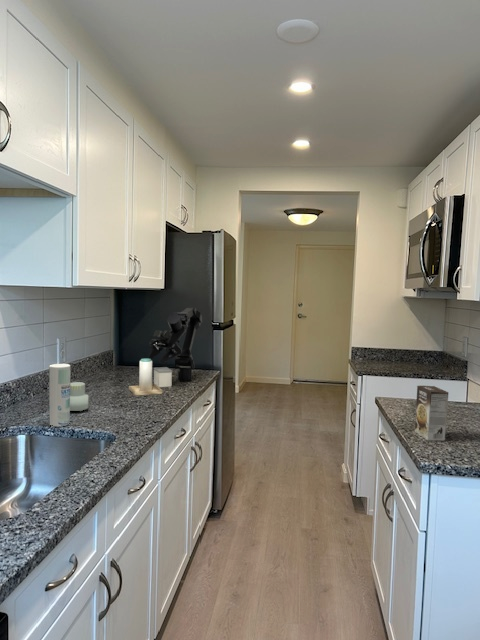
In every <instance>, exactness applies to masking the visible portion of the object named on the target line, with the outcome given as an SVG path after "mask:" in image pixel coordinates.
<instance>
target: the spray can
mask: <svg viewBox="0 0 480 640" xmlns="http://www.w3.org/2000/svg"><path fill="white" fill-rule="evenodd" d="M48 371H49V372H48V375H49V376H48V379H49V381H48V385H49V388H48V389H49V390H48V393H49V398H48V399H49V400H48V401H49V404H48V405H49V418H48V419H49V426H50V425H53V426H61V425H67V424H69V423H70V421H71V420H70V419H71V416H70V415H71V412H70V383H71V364H68V363H53V364H50V365H49V367H48ZM69 425H70V424H69Z"/></svg>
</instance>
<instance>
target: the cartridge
mask: <svg viewBox="0 0 480 640" xmlns="http://www.w3.org/2000/svg"><path fill="white" fill-rule="evenodd" d="M138 371H139V374H138V375H139V376H138V377H139V378H138V383H139V385H138V386H139V391H152V385H153V360H152V359H148V357H147V358H144V357H143V358H141V359H140V360H139V370H138Z"/></svg>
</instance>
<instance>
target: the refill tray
mask: <svg viewBox="0 0 480 640" xmlns="http://www.w3.org/2000/svg"><path fill="white" fill-rule="evenodd" d="M128 390H129V391H130V392H131V394H132V395H134V397H135V396H147V395H149V396H150V395H158V394H159V395H161V394H163V389H162V388H161V387H158V386H157V385H156V384H152V391H139V385H130V386H128Z"/></svg>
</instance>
